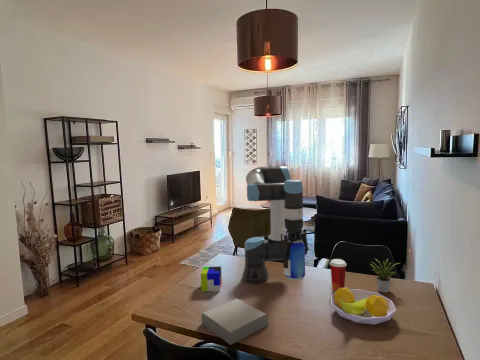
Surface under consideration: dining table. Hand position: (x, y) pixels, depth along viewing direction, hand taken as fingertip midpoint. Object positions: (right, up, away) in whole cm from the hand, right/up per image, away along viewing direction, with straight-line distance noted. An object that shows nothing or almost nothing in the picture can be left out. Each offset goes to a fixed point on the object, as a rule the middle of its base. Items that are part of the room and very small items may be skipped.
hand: (294, 272), depth 128 cm
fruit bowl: (+30, -22, +8) cm, 38 cm away
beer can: (0, -3, 0) cm, 3 cm away
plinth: (-25, -24, +4) cm, 34 cm away
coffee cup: (+29, -20, +35) cm, 49 cm away
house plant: (+53, -19, +32) cm, 65 cm away
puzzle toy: (-38, -21, +41) cm, 60 cm away
